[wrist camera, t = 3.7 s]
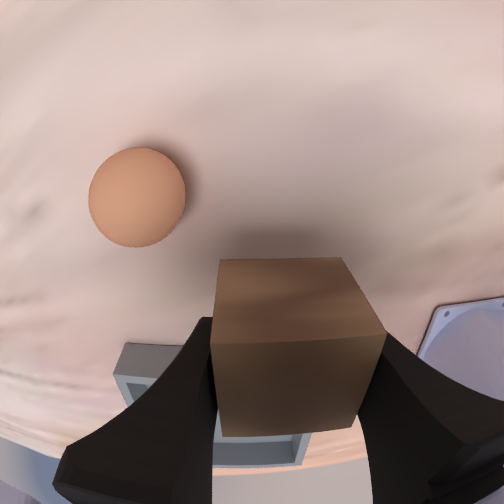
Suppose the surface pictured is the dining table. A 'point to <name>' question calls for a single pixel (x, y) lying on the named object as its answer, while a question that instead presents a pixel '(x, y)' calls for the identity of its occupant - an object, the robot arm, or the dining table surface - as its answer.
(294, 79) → the dining table surface
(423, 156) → the dining table surface
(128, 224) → the ball
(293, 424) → the cube
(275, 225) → the dining table surface
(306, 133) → the dining table surface
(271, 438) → the tray
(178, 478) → the robot arm
